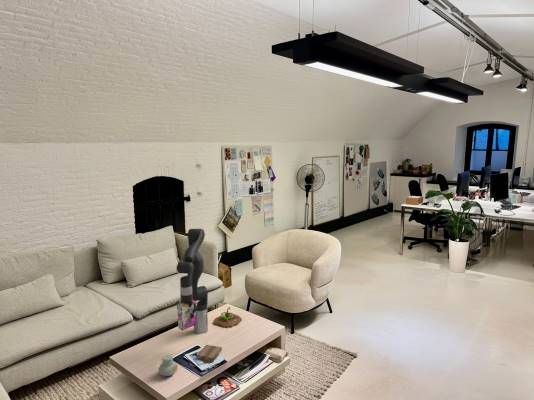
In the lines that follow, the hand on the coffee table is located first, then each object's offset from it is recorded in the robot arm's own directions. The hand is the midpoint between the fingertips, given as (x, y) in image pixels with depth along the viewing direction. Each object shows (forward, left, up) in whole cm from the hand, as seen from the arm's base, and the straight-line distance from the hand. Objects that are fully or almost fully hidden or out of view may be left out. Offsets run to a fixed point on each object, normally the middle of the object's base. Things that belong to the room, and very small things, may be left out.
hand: (187, 317), depth 241 cm
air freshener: (0, -24, -24) cm, 34 cm away
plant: (+8, +46, -24) cm, 53 cm away
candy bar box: (0, 0, -7) cm, 7 cm away
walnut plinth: (+15, 0, -24) cm, 28 cm away
